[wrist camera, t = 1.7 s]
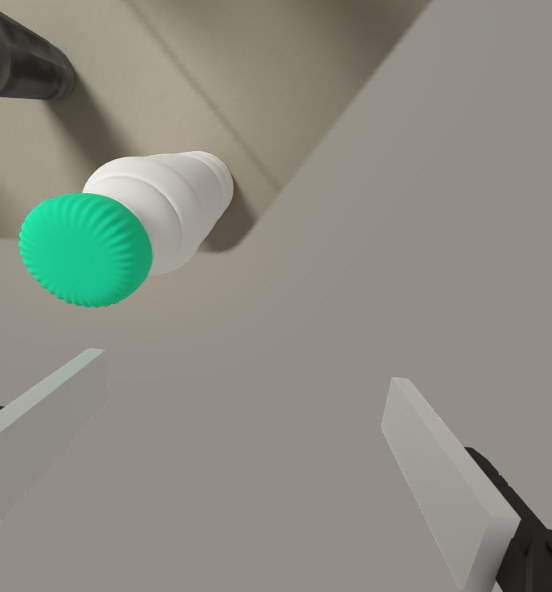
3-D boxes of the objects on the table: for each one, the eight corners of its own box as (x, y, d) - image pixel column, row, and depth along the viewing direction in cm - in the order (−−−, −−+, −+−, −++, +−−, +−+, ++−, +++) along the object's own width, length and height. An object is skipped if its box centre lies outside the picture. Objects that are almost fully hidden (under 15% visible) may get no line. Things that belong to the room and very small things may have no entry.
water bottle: (191, 226, 36) (62, 358, 14) (159, 167, 33) (-72, 214, 11) (244, 202, 35) (197, 303, 13) (216, 139, 32) (88, 126, 10)
